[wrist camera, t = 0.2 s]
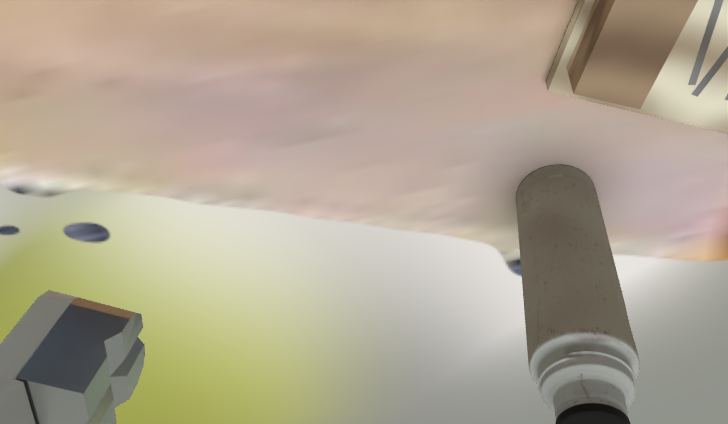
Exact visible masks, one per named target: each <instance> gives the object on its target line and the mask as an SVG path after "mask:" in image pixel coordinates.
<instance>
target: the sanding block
mask: <svg viewBox="0 0 728 424" xmlns="http://www.w3.org/2000/svg"><path fill="white" fill-rule="evenodd" d="M697 1H698V0H595V2H594V4H593V7H592V9H591V11H590V14H589V16H588V18H587V21H586V23H585V25H584V28H583V30H582V33H581V35H580V37H579V40H578V42H577V44H576V47H575V49H574V51H573V54H572V56H571V59H570V61H569V63H568V66H567V71H568V75H569V79H570V83H571V87H572V90H573V94H576V95H581V96H585V97H589V98H593V99H597V100H602V101H606V102H610V103H614V104H619V105H623V106H627V107H631V108H635V109H641V107H642V105H643V103H644V101H645V99H646V97H647V95H648V94H649V92H650V90H651V88H652V86H653V84H654V82H655V80H656V79H657V77H658V75H659V73H660V71H661V69H662V67H663V65H664V64H665V62H666V60H667V58H668V56H669V54H670V52H671V50H672V48H673V47H674V45H675V43H676V41H677V39H678V37H679V35H680V33H681V32H682V30H683V28H684V26H685V24H686V22H687V20H688V18H689V17H690V15H691V13H692V11H693V9H694V7H695V5H696V3H697Z"/></svg>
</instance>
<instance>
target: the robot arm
mask: <svg viewBox="0 0 728 424" xmlns="http://www.w3.org/2000/svg"><path fill="white" fill-rule="evenodd" d="M142 328H143V324H142V316H141V314H139V313H135V312H131V311H127V310H124V309H120V308H116V307H112V306H109V305H105V304H101V303H97V302H93V301H89V300H86V299H82V298H79V297H74V296H71V295H67V294H62V293H58V292H54V291H50V290H49V291H47V292H45V293H44V294H42V295H41V296H40V297H38V298H37V299H36V300H35V302H34V303H33V304H32V305H31V307H30V308H29V309H28V310H27V312H26V313H25V314H24V315H23V317H22V318H21V319H20V321H19V322H18V323H17V324H16V325H15V326H14V328H13V329H12V330H11V331H10V333H9V334H8V335H7V336H6V338H5V339H4V340H3V341H2V343H1V344H0V424H116V415H115V407H117V406H119V405H120V404H122V403H124V402H125V401H127V400H128V399H130V397H131V395H132V393H133V391H134V389H135V387H136V385H137V383H138V380H139V377H140V374H141V371H142V368H143V364H144V357H145V348H144V344H143V342H142V341H141V340H140V339H139V338H138V335H139V333H140V332H141V330H142Z"/></svg>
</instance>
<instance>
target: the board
mask: <svg viewBox="0 0 728 424" xmlns="http://www.w3.org/2000/svg"><path fill="white" fill-rule="evenodd" d="M594 2H595V0H579V1H578V4H577V6H576V8H575V11H574V13H573V16H572V18H571V21H570V23H569V26H568V28H567V31H566V33H565V35H564V38H563V40H562V43H561V45H560V48H559V50H558V53H557V55H556V58H555V60H554V63H553V65H552V67H551V70H550V72H549V75H548V77H547V80H546V85H547V91H548V92H553V93H557V94H561V95H565V96H570V97H574V98H578V99H582V100H586V101H591V102H595V103H599V104H603V105H608V106H612V107H616V108H620V109H624V110H629V111H633V112H637V113H641V114H646V115H650V116H654V117H658V118H662V119H667V120H671V121H675V122H679V123H683V124H688V125H692V126H696V127H700V128H705V129H709V130H713V131H717V132H721V133H726V134H728V0H698V1H697V3H696V5H695V7H694V9H693V11H692V13H691V15H690V17H689V18H688V20H687V22H686V24H685V26H684V28H683V30H682V32H681V33H680V35H679V37H678V39H677V41H676V43H675V45H674V47H673V48H672V50H671V52H670V54H669V56H668V58H667V60H666V62H665V64H664V65H663V67H662V69H661V71H660V73H659V75H658V77H657V79H656V80H655V82H654V84H653V86H652V88H651V90H650V92H649V94H648V95H647V97H646V99H645V101H644V103H643V105H642V107H641V109H635V108H631V107H627V106H623V105H619V104H614V103H610V102H606V101H602V100H597V99H593V98H589V97H585V96H581V95H576V94H573V90H572V87H571V83H570V79H569V75H568V71H567V66H568V63H569V61H570V59H571V56H572V54H573V51H574V49H575V47H576V44H577V42H578V40H579V37H580V35H581V33H582V30H583V28H584V25H585V23H586V21H587V18H588V16H589V14H590V11H591V9H592V7H593V4H594Z"/></svg>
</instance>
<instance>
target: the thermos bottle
mask: <svg viewBox="0 0 728 424" xmlns="http://www.w3.org/2000/svg"><path fill="white" fill-rule="evenodd" d="M516 205H517V218H518V231H519V244H520V258H521V271H522V284H523V296H524V310H525V323H526V335H527V349H528V363H529V369H530V374H531V376H532V378H533V380H534V381H535V382H536V384H537V385H538V390H539V392H540V394H541V397H542V399H543V401H544V403H545V404H546V405H547V406H548V407H549V408H550V409H551V410H553V411H554V412H555V416H556V424H630V421H629V419H628V412H627V407H628V406H629V405H630V404H631V403H632V401H633V400H634V397H635V394H636V393H635V383H636V381H635V378H636V377H637V375H638V372H639V366H640V365H639V357H638V353H637V349H636V346H635V342H634V339H633V335H632V332H631V328H630V325H629V320H628V316H627V312H626V307H625V303H624V299H623V295H622V291H621V287H620V283H619V279H618V275H617V271H616V267H615V264H614V260H613V256H612V252H611V248H610V244H609V240H608V236H607V232H606V228H605V224H604V221H603V217H602V213H601V209H600V205H599V201H598V197H597V193H596V189H595V186H594V184H593V182H592V180H591V179H590V177H588V176H587V175H586V174H585V173H584V172H582V171H581V170H579V169H577V168H574V167H571V166H566V165H552V166H547V167H543V168H540V169H538V170H536V171H534V172H532V173H531V174H530V175H528V176H527V177H526V178H525V179H524V180H523V181H522V183H521V184H520V186H519V188H518V191H517V195H516Z"/></svg>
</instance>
